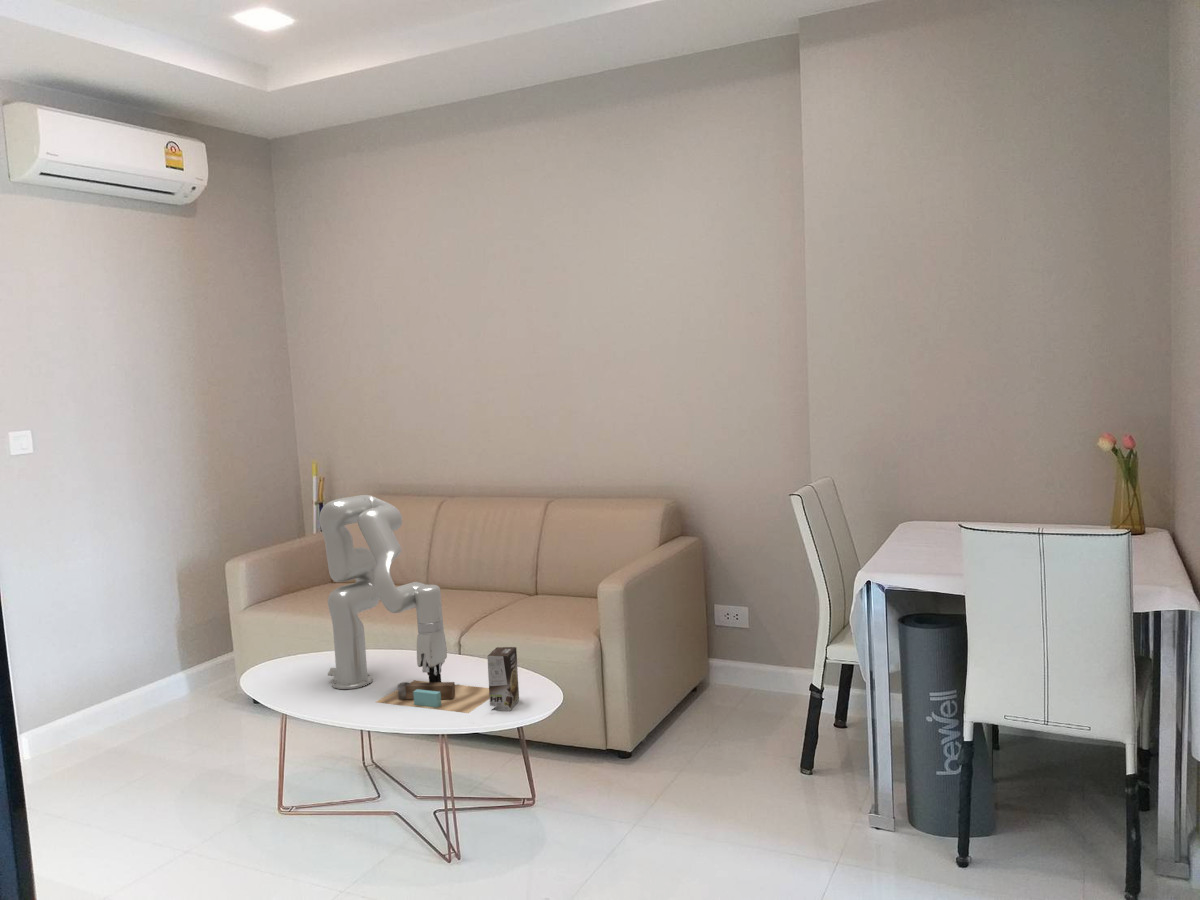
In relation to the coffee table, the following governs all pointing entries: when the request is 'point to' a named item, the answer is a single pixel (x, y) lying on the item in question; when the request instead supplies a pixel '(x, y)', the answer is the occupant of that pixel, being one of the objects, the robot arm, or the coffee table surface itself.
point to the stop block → (427, 698)
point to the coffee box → (503, 678)
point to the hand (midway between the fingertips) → (435, 686)
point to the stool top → (462, 701)
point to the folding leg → (444, 687)
